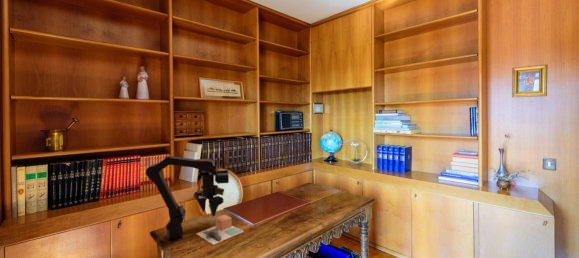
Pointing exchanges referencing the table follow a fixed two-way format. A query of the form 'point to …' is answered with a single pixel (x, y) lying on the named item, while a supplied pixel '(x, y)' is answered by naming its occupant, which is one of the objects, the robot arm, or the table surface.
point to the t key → (213, 234)
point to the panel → (220, 234)
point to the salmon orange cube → (223, 222)
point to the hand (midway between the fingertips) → (208, 213)
